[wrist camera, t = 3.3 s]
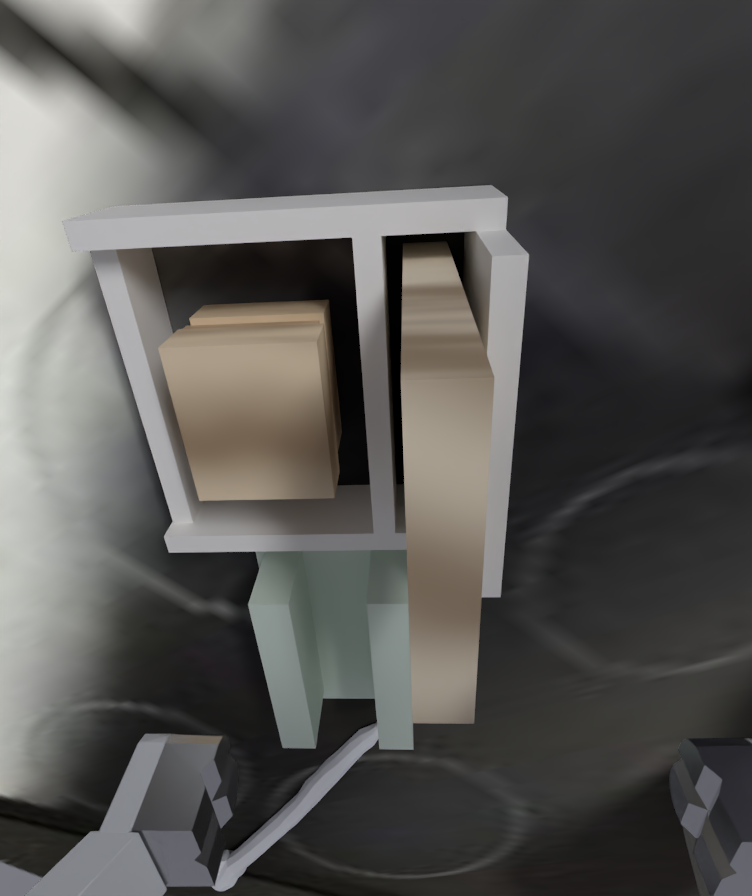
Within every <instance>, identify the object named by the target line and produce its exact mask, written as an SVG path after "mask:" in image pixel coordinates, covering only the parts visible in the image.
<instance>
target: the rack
mask: <svg viewBox="0 0 752 896" xmlns="http://www.w3.org/2000/svg"><path fill="white" fill-rule="evenodd" d="M507 204H508V197H507V196H506V195H504V194H503V193H501V192H500V191H499V190H497V189H496V188H495V187H493V186H492V185H484V186H466V187H448V188H430V189H412V190H394V191H376V192H358V193H340V194H322V195H304V196H286V197H268V198H250V199H232V200H214V201H196V202H178V203H161V204H143V205H125V206H113V207H109V208H106V209H103V210H99V211H96V212H92V213H89V214H86V215H82V216H79V217H75V218H72V219H68V220H65V221H62V223H63V227H64V230H65V233H66V236H67V239H68V242H69V245H70V248H71V251H72V252H73V251H90V253H91V257H92V260H93V263H94V266H95V270H96V273H97V276H98V279H99V283H100V286H101V289H102V292H103V296H104V299H105V302H106V305H107V309H108V312H109V315H110V318H111V322H112V325H113V328H114V331H115V335H116V338H117V341H118V344H119V348H120V351H121V354H122V358H123V361H124V364H125V367H126V371H127V374H128V377H129V380H130V384H131V387H132V390H133V393H134V397H135V400H136V403H137V406H138V410H139V413H140V416H141V419H142V423H143V426H144V429H145V432H146V436H147V439H148V442H149V445H150V449H151V452H152V455H153V458H154V462H155V465H156V468H157V472H158V475H159V478H160V481H161V485H162V488H163V491H164V494H165V498H166V501H167V504H168V507H169V511H170V514H171V517H172V520H173V522H172V523H171V525H170V527H169V528H168V530H167V532H166V534H165V535H164V539H165V542H166V545H167V548H168V551H169V553H183V552H265V551H347V550H407V546H406V517H405V489H404V484H396V462H395V439H394V416H393V393H392V371H391V348H390V325H389V302H388V279H387V256H386V236H392V235H411V234H431V233H451V232H464V264H463V289H464V292H465V294H466V297H467V300H468V303H469V306H470V309H471V312H472V314H473V317H474V320H475V323H476V326H477V329H478V332H479V334H480V337H481V340H482V343H483V346H484V349H485V352H486V354H487V357H488V360H489V363H490V366H491V369H492V372H493V374H494V377H495V378H494V395H493V412H492V429H491V446H490V463H489V479H488V496H487V513H486V530H485V547H484V564H483V581H482V597H501V585H502V573H503V561H504V549H505V537H506V525H507V513H508V501H509V489H510V477H511V465H512V453H513V442H514V430H515V418H516V406H517V394H518V382H519V370H520V358H521V346H522V334H523V322H524V310H525V298H526V286H527V274H528V262H529V254H528V253H527V252H526V251H525V250H524V249H523V247H522V246H521V245H520V244H519V243H518V242H517V241H516V240H515V239H514V238H513V237H512V236H511V235H510V234H509V232H508V231H507V230H506V221H507ZM332 238H352V243H353V257H354V270H355V284H356V298H357V311H358V325H359V339H360V352H361V366H362V380H363V393H364V407H365V421H366V434H367V448H368V462H369V475H370V485H337V488H336V494H335V498H326V499H272V500H218V501H199V498H198V494H197V490H196V487H195V483H194V479H193V476H192V472H191V468H190V464H189V461H188V457H187V453H186V450H185V446H184V442H183V439H182V435H181V431H180V428H179V424H178V420H177V416H176V413H175V409H174V405H173V402H172V398H171V394H170V391H169V387H168V383H167V380H166V376H165V372H164V368H163V365H162V361H161V357H160V354H159V350H158V347H160V346H161V345H162V344H163V343H164V342H165V341H166V340H167V339H168V338H169V337H170V336H171V335H173V332H172V328H171V324H170V320H169V316H168V312H167V308H166V304H165V300H164V296H163V292H162V288H161V284H160V280H159V276H158V272H157V268H156V264H155V260H154V256H153V252H152V248H153V247H173V246H193V245H212V244H232V243H252V242H272V241H292V240H312V239H332Z"/></svg>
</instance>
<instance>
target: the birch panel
mask: <svg viewBox="0 0 752 896" xmlns="http://www.w3.org/2000/svg"><path fill="white" fill-rule="evenodd" d="M494 378H495V377H494V374H493V372H492V369H491V366H490V363H489V360H488V357H487V354H486V352H485V349H484V346H483V343H482V340H481V337H480V334H479V332H478V329H477V326H476V323H475V320H474V317H473V314H472V312H471V309H470V306H469V303H468V300H467V297H466V294H465V292H464V289H463V286H462V283H461V280H460V277H459V274H458V272H457V269H456V266H455V263H454V260H453V257H452V254H451V252H450V249H449V246H448V243H447V241H436V242H416V243H403V271H402V333H401V403H402V431H403V460H404V489H405V517H406V546H407V575H408V604H409V632H410V661H411V690H412V718H413V723H454V724H474V716H475V699H476V682H477V665H478V649H479V632H480V615H481V598H482V581H483V564H484V547H485V530H486V513H487V496H488V479H489V463H490V446H491V429H492V412H493V395H494Z"/></svg>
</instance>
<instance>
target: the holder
mask: <svg viewBox="0 0 752 896" xmlns="http://www.w3.org/2000/svg"><path fill="white" fill-rule="evenodd" d="M256 557H257V561H258V566H259V572H258V575H257V578H256V581H255V584H254V587H253V591H252V594H251V597H250V600H249V603H248V607H249V611H250V615H251V620H252V624H253V628H254V632H255V636H256V640H257V644H258V648H259V652H260V657H261V661H262V665H263V669H264V673H265V677H266V681H267V685H268V690H269V694H270V698H271V702H272V706H273V710H274V714H275V718H276V722H277V727H278V731H279V735H280V739H281V743H282V747H283V748H316V744H317V737H318V730H319V722H320V715H321V708H322V701H323V698H341V699H375V705H376V716H377V727H378V738H379V749H405V750H413V718H412V690H411V661H410V632H409V604H408V575H407V550H347V551H265V552H256Z"/></svg>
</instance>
